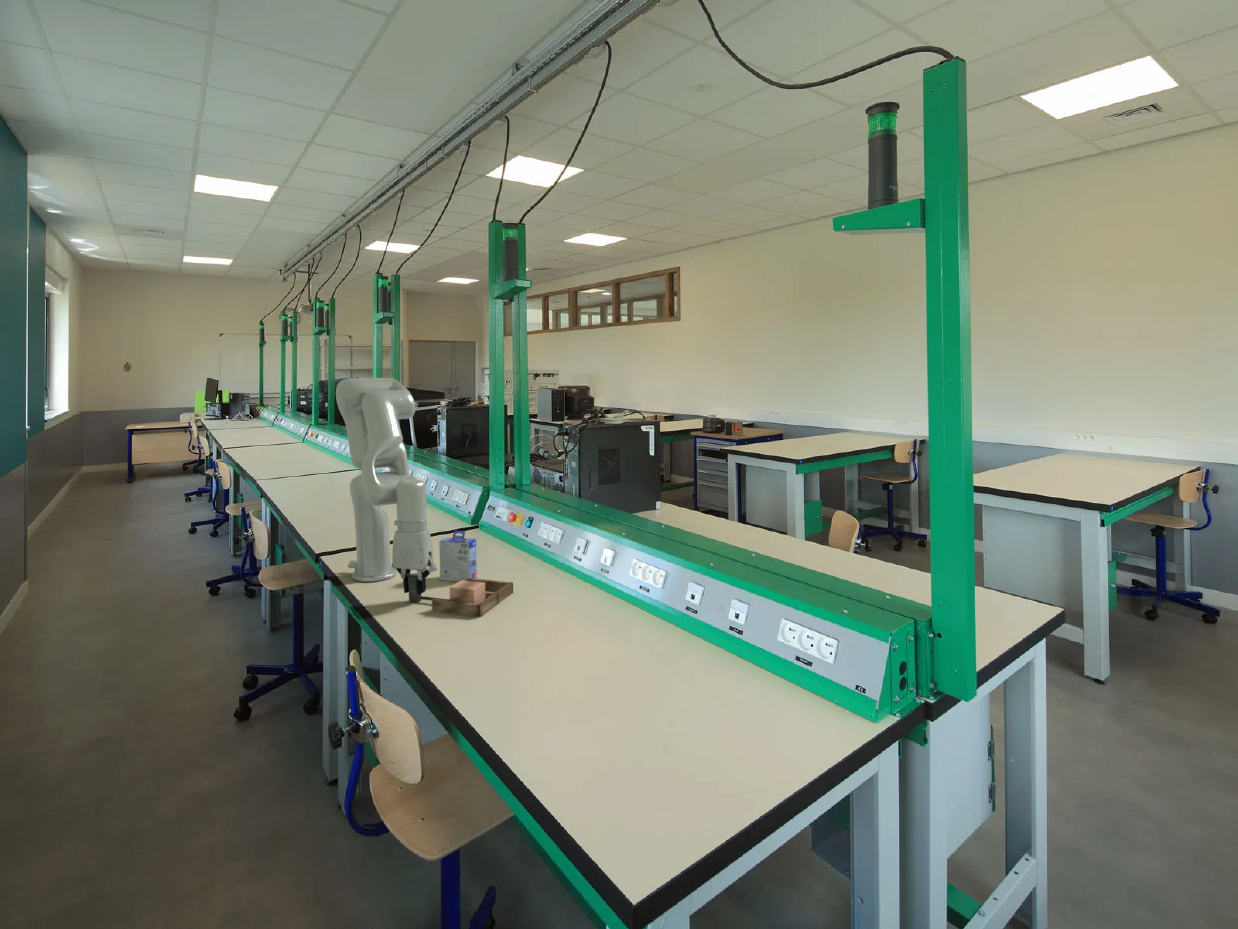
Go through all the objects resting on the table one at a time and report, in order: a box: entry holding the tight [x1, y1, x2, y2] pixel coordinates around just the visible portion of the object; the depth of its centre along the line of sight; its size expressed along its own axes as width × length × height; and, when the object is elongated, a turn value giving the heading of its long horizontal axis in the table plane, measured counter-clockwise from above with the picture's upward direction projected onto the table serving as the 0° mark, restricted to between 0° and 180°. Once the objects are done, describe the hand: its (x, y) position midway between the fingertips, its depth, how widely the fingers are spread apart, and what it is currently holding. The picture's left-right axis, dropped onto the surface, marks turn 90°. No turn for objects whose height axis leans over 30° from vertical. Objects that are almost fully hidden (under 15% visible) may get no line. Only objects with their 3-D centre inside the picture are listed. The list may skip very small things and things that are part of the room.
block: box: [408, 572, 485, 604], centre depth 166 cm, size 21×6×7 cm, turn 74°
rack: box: [431, 578, 514, 618], centre depth 169 cm, size 14×19×3 cm
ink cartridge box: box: [439, 530, 478, 582], centre depth 187 cm, size 10×6×14 cm, turn 79°
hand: (414, 591), depth 169 cm, fingers closed on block, 3 cm apart
